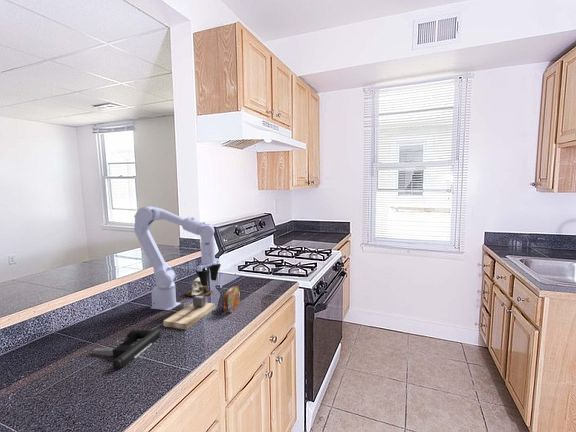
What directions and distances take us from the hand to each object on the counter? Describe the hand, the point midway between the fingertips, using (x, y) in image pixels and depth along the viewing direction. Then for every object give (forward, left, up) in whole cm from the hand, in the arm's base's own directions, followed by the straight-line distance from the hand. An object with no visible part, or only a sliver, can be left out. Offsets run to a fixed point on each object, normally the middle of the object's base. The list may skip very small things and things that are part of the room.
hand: (209, 282), depth 135 cm
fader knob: (0, -8, -7) cm, 11 cm away
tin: (+12, -2, -10) cm, 15 cm away
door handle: (-6, -41, -10) cm, 43 cm away
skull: (-12, +10, -10) cm, 18 cm away
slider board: (0, -14, -9) cm, 17 cm away
